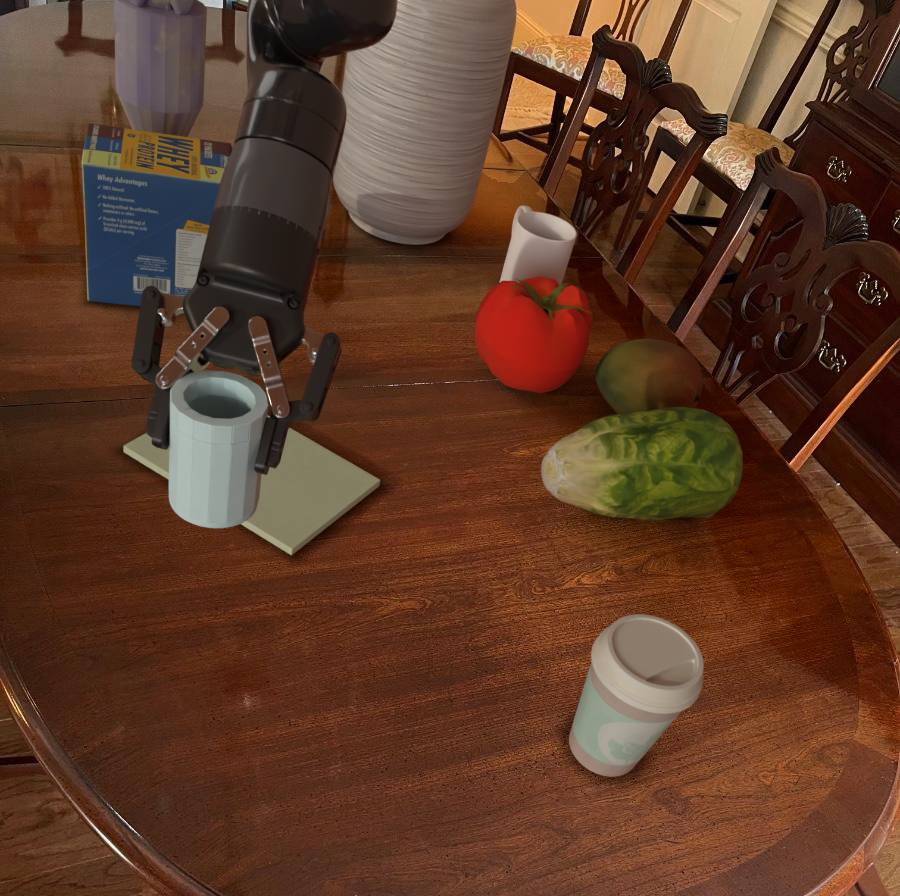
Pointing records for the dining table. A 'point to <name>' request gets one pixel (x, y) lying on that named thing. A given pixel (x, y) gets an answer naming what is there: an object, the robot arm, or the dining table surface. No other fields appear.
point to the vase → (423, 117)
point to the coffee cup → (633, 691)
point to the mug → (538, 246)
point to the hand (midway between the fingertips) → (210, 459)
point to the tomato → (533, 332)
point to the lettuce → (647, 465)
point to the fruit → (648, 376)
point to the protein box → (146, 210)
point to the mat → (289, 489)
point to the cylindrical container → (215, 447)
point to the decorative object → (160, 63)
